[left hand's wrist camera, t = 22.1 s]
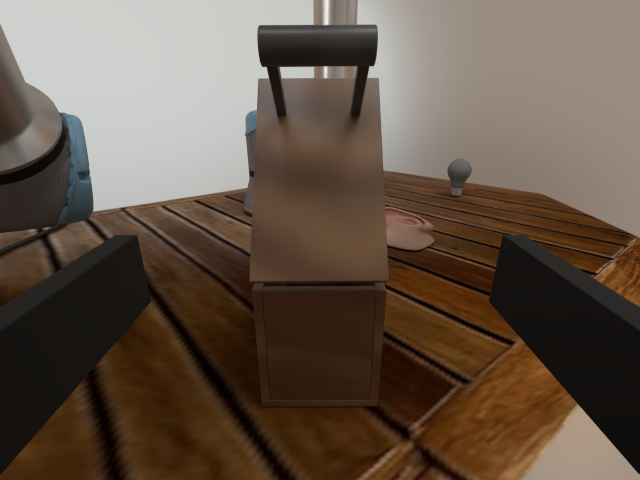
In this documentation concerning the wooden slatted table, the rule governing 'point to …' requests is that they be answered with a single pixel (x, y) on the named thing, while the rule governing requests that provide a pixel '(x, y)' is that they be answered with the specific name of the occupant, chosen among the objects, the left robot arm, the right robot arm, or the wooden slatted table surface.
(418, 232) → the anatomical model
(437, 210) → the wooden slatted table surface
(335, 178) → the lid
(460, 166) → the light bulb
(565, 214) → the wooden slatted table surface
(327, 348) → the chest
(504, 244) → the left robot arm
